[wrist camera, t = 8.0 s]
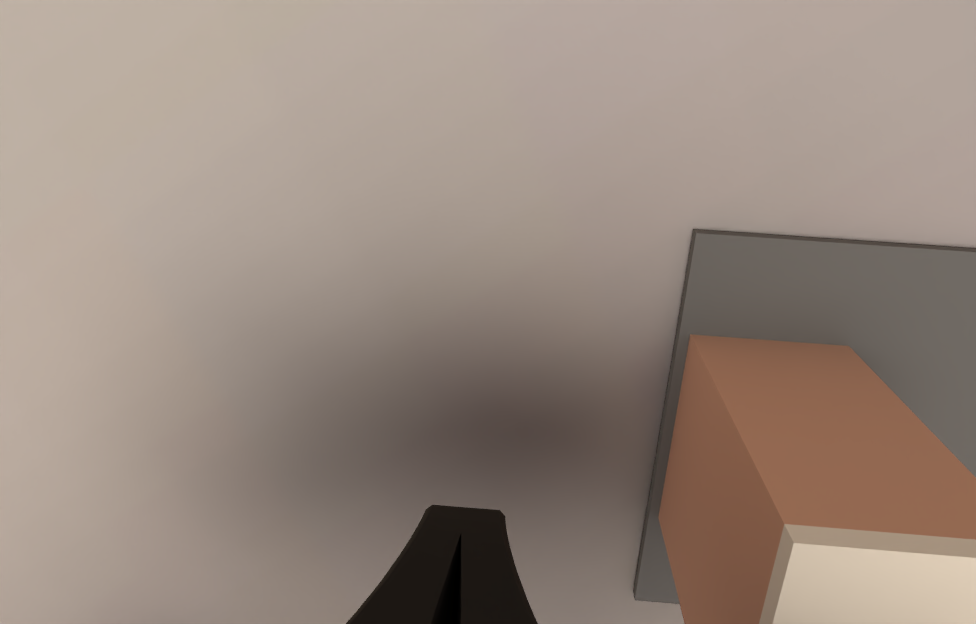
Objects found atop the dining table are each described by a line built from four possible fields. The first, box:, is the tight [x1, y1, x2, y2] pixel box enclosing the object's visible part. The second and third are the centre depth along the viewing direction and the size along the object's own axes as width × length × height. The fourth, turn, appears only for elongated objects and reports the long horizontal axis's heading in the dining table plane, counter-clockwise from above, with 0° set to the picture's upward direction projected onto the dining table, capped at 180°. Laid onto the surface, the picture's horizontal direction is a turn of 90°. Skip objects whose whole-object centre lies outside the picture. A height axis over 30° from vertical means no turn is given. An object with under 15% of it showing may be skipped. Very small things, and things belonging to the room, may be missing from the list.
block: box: [658, 334, 976, 624], centre depth 14 cm, size 5×4×7 cm
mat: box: [633, 229, 976, 604], centre depth 17 cm, size 10×10×1 cm
